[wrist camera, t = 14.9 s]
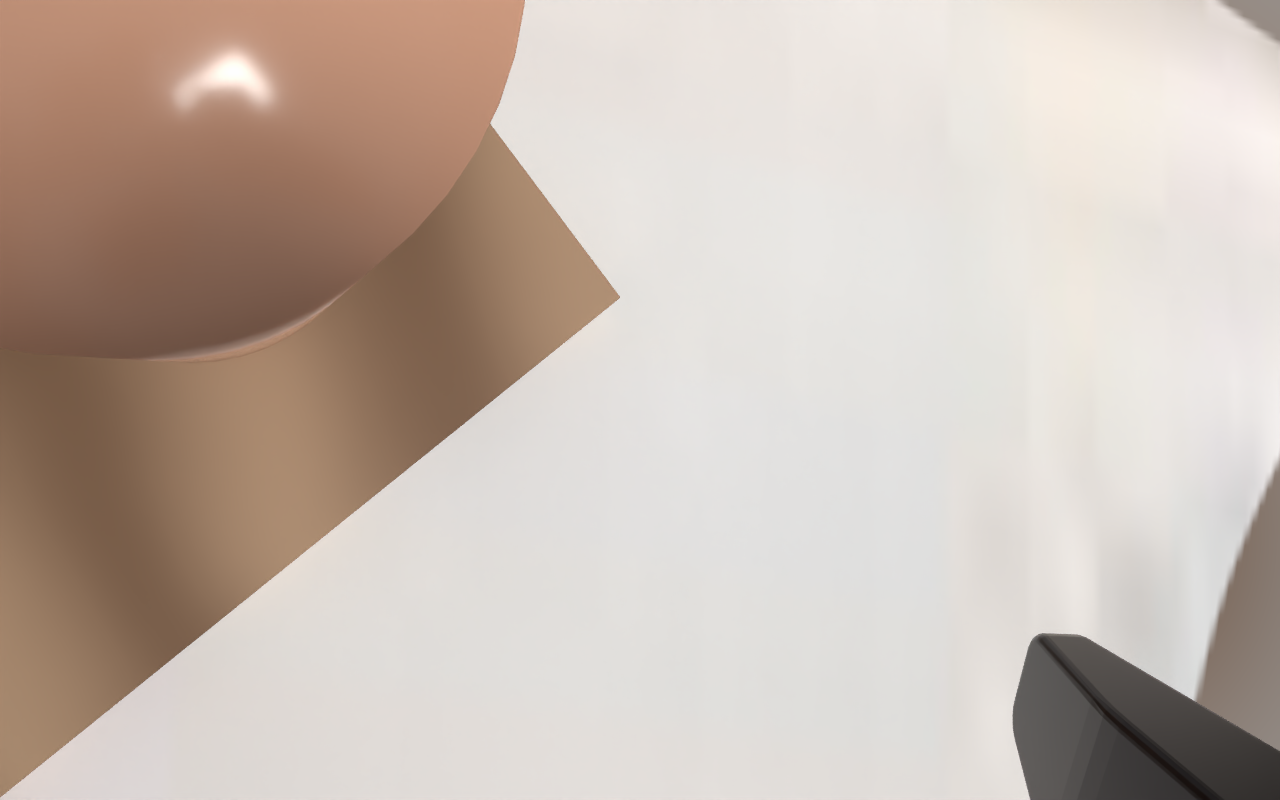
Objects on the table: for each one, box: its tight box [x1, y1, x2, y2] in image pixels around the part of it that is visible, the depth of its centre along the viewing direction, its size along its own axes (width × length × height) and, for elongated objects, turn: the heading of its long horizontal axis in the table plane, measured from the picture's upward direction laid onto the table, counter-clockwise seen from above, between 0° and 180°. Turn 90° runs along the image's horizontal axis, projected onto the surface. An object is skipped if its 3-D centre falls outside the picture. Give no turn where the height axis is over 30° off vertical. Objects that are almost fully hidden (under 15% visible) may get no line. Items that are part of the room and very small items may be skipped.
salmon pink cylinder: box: [0, 0, 525, 363], centre depth 15 cm, size 6×6×13 cm
